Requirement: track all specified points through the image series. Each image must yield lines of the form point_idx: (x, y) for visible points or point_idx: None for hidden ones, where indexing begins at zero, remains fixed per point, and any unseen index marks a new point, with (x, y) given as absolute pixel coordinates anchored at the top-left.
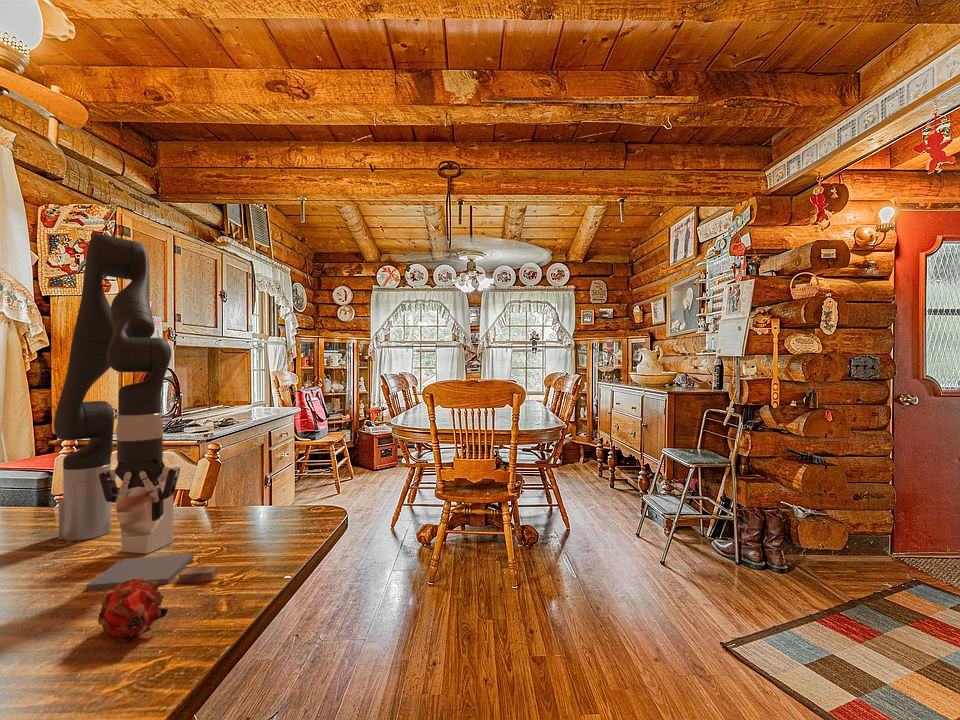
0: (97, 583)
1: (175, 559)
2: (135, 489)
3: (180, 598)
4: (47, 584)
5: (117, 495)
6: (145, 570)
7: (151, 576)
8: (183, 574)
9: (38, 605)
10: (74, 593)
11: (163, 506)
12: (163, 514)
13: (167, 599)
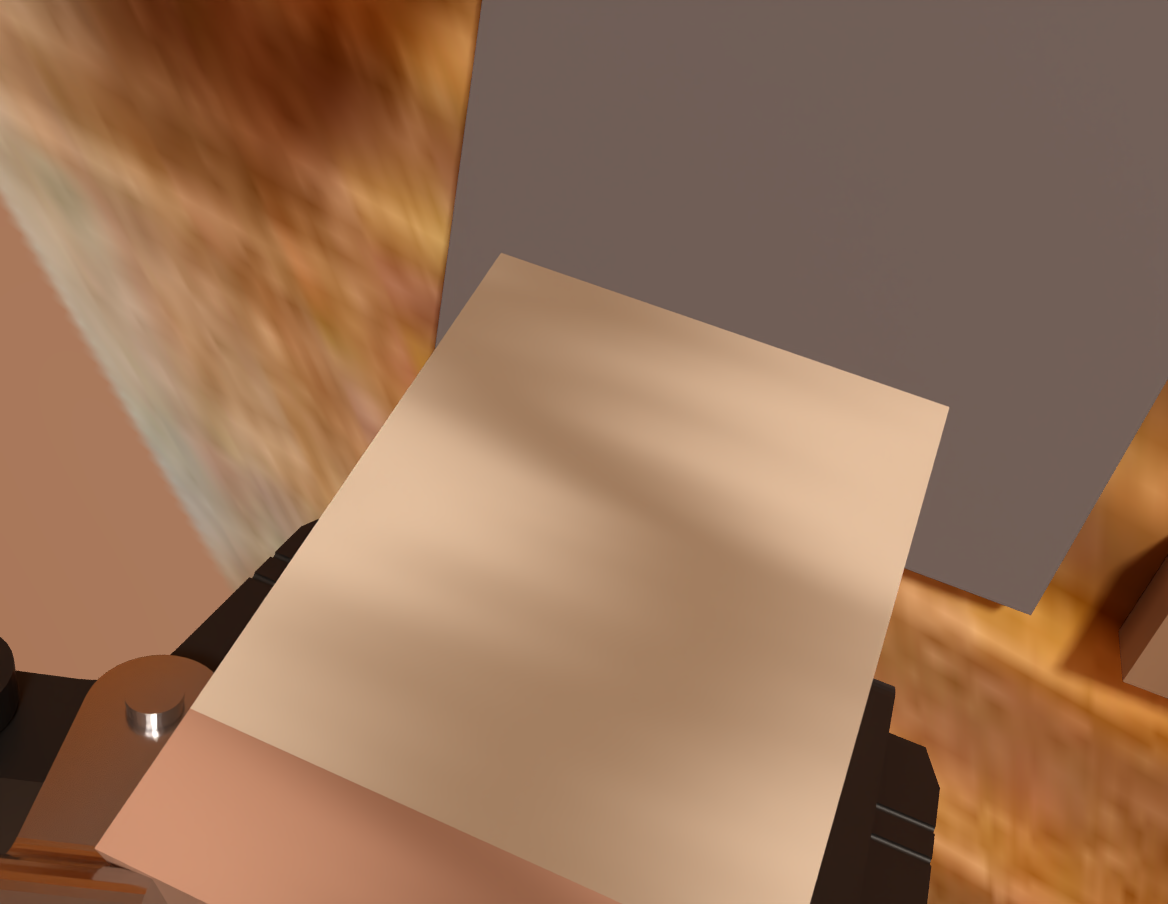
0: None
1: (1117, 138)
2: (202, 901)
3: (1112, 862)
4: (120, 84)
5: (11, 828)
6: (819, 318)
7: None
8: (1163, 693)
9: (263, 453)
10: (389, 379)
11: (928, 889)
12: (934, 450)
13: (1025, 825)
